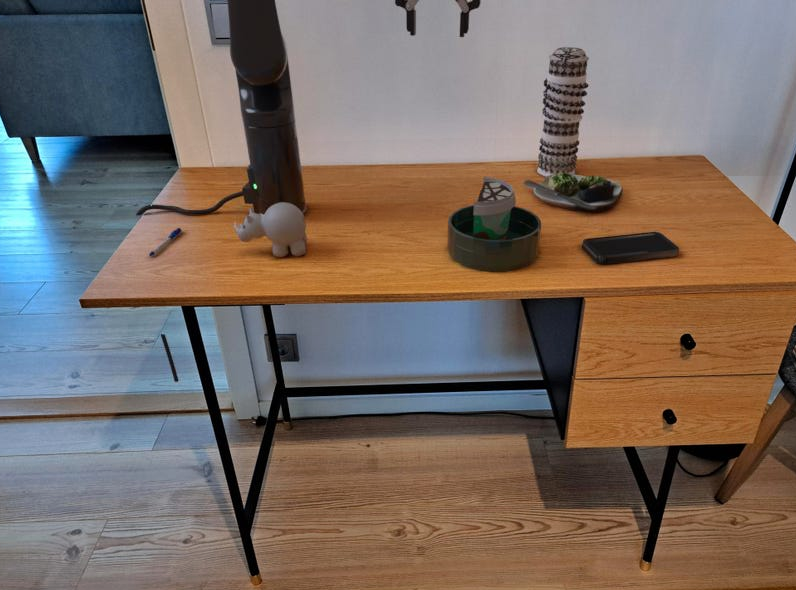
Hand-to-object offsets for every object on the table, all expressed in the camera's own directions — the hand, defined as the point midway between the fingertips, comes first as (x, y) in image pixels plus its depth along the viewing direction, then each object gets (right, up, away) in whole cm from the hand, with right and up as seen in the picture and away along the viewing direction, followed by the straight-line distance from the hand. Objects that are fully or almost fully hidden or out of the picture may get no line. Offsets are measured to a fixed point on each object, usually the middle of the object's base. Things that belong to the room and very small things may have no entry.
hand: (437, 35), depth 111 cm
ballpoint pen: (-48, -36, +3) cm, 60 cm away
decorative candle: (+27, -14, +33) cm, 45 cm away
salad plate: (+29, -23, +20) cm, 42 cm away
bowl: (+10, -37, 0) cm, 38 cm away
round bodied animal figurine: (-28, -37, 0) cm, 47 cm away
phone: (+33, -37, 0) cm, 50 cm away
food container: (+10, -37, 0) cm, 38 cm away
